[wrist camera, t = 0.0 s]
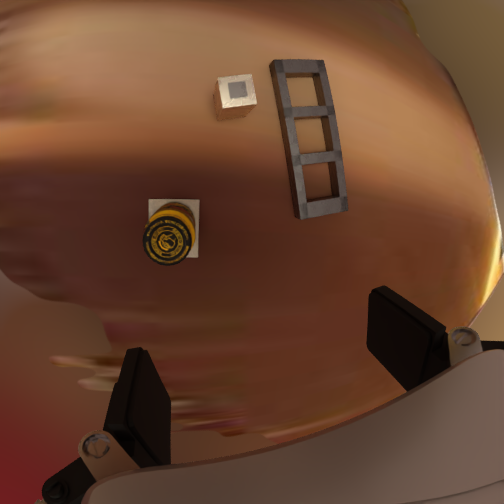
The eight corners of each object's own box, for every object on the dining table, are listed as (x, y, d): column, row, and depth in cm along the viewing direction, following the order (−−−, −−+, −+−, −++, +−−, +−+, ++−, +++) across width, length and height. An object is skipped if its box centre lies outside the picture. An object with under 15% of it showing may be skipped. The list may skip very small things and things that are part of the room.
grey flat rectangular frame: (269, 65, 35) (273, 59, 32) (317, 65, 36) (323, 60, 34) (294, 216, 42) (300, 219, 40) (340, 208, 43) (348, 210, 41)
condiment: (199, 199, 39) (200, 210, 27) (197, 257, 41) (199, 289, 30) (149, 198, 37) (130, 209, 26) (149, 256, 40) (133, 288, 28)
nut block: (213, 95, 35) (217, 76, 27) (240, 91, 35) (252, 72, 27) (217, 120, 36) (223, 107, 28) (245, 116, 37) (257, 103, 29)
